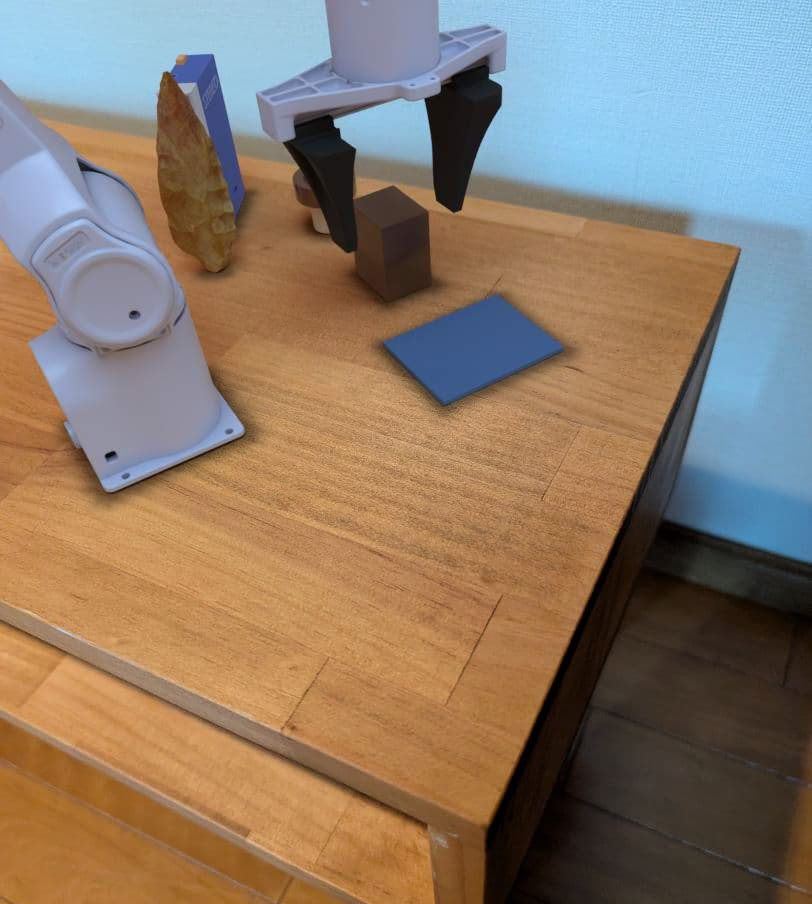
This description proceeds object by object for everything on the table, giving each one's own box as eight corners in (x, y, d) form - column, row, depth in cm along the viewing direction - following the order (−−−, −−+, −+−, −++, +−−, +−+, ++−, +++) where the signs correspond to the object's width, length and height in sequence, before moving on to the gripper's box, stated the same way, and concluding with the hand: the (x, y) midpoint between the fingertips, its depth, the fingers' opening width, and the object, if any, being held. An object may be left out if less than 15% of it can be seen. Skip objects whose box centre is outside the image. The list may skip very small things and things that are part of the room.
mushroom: (318, 247, 65) (306, 178, 61) (290, 222, 68) (278, 155, 64) (371, 227, 67) (364, 159, 62) (342, 203, 70) (334, 136, 65)
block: (388, 302, 59) (381, 228, 55) (356, 273, 62) (347, 201, 58) (432, 284, 61) (429, 211, 56) (399, 257, 63) (393, 184, 59)
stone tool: (192, 287, 62) (129, 85, 51) (182, 274, 64) (118, 74, 52) (250, 266, 64) (201, 64, 52) (238, 253, 65) (189, 54, 54)
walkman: (216, 195, 72) (179, 50, 63) (246, 194, 72) (212, 48, 63) (196, 239, 67) (152, 89, 58) (227, 239, 67) (188, 88, 58)
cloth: (443, 406, 51) (443, 401, 51) (383, 346, 56) (382, 341, 56) (563, 351, 54) (564, 346, 54) (496, 298, 59) (496, 293, 59)
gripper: (281, 18, 33) (326, 294, 44) (548, -55, 38) (531, 213, 48) (217, -20, 37) (272, 242, 48) (465, -81, 42) (466, 171, 52)
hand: (398, 225), depth 48 cm, fingers open, 7 cm apart
